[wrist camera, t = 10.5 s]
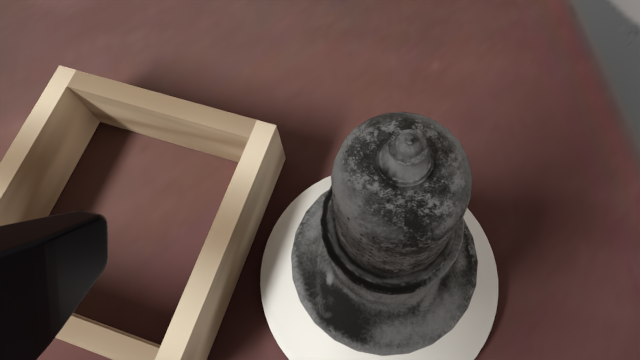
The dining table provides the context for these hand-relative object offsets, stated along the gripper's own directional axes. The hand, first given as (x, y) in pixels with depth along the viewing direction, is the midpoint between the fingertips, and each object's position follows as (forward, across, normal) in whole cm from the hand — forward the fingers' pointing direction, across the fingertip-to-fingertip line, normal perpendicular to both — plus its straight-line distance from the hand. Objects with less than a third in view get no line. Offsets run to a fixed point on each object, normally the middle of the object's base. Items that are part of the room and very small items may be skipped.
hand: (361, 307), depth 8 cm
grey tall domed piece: (+10, 0, +6) cm, 12 cm away
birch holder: (+10, +10, +7) cm, 16 cm away
